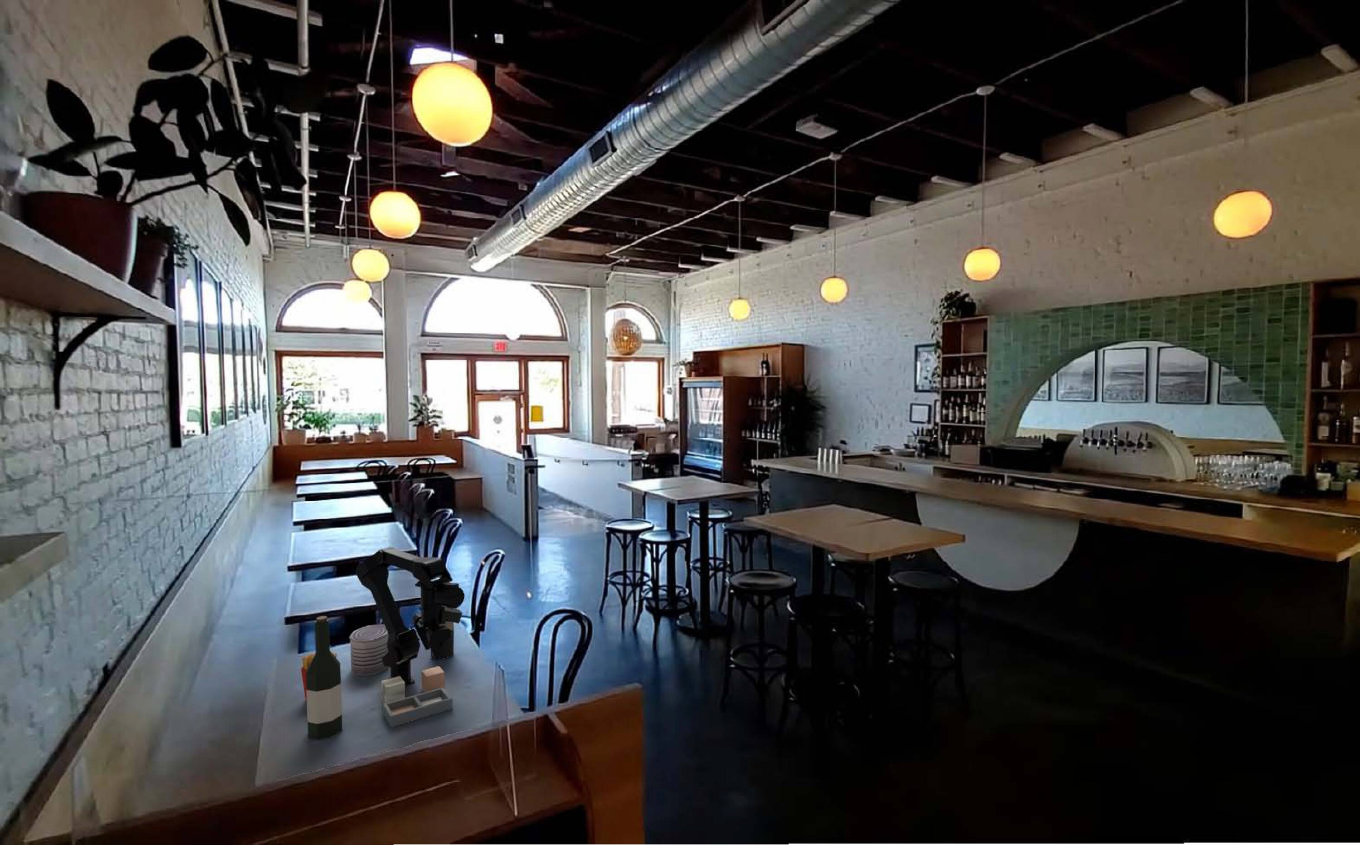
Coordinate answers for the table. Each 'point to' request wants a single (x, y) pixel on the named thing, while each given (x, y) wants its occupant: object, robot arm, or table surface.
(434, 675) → the terracotta block
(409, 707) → the pocket frame
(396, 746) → the table surface
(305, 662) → the french fries
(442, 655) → the travel mug
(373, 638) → the can
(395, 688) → the ivory block
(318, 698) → the wine bottle
